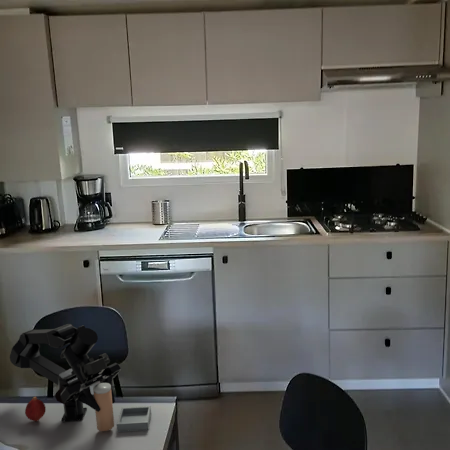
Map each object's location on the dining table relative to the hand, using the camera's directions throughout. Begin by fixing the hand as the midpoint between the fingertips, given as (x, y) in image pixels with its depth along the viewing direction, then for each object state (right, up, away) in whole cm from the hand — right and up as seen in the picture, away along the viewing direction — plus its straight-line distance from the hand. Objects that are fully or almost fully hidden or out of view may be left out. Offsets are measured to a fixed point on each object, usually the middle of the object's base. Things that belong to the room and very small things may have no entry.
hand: (106, 406), depth 147 cm
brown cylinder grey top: (-1, -6, +2) cm, 7 cm away
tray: (+7, -7, +6) cm, 12 cm away
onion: (-24, -8, +9) cm, 26 cm away
